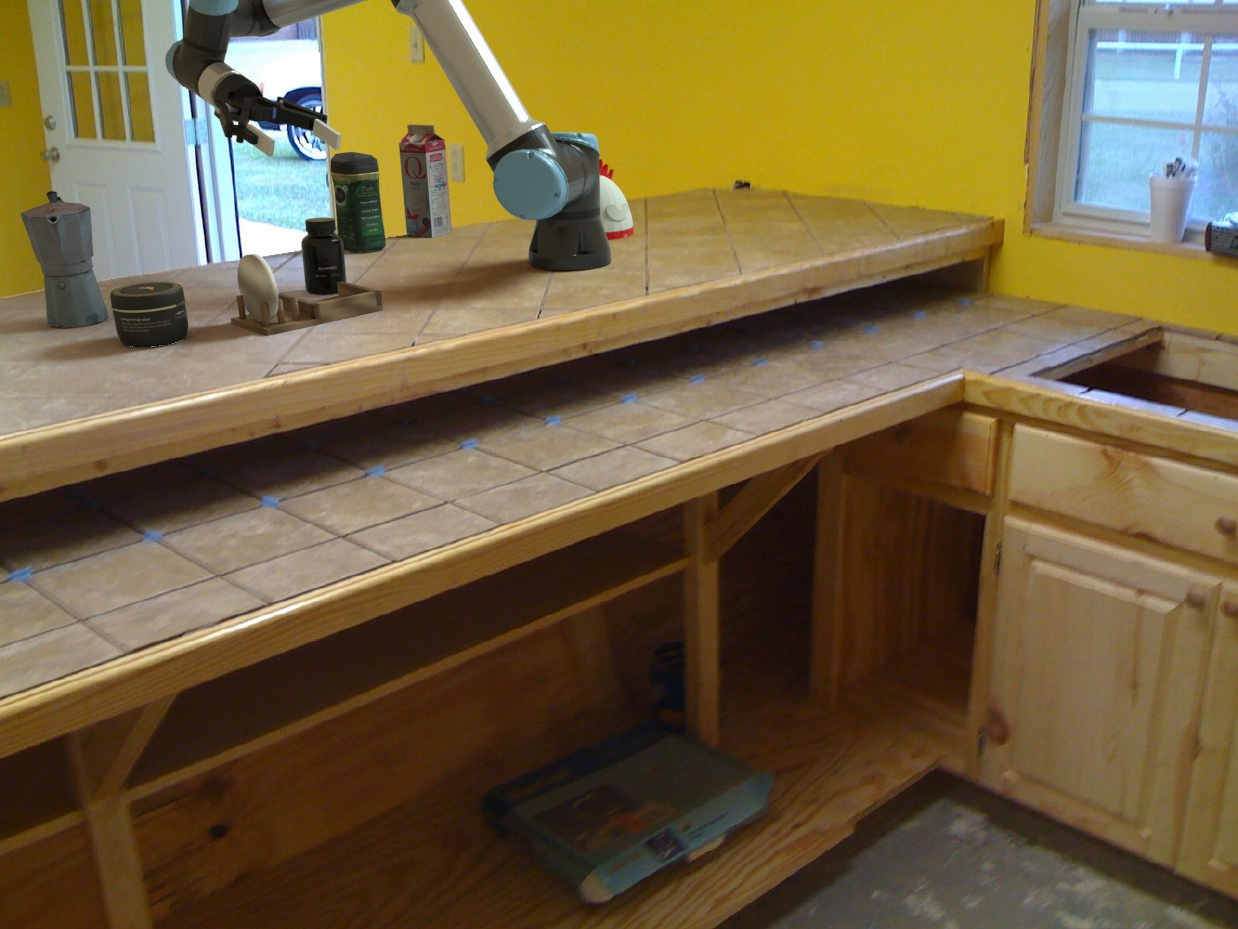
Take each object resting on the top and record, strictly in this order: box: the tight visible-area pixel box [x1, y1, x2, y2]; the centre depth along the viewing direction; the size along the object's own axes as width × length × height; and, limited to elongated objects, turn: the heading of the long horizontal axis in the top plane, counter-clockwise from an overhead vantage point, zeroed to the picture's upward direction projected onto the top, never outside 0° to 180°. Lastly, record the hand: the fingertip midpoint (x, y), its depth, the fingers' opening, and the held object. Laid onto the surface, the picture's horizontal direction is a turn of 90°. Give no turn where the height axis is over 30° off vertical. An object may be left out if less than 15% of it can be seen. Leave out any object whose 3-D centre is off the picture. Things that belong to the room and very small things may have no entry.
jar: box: [109, 281, 189, 348], centre depth 171 cm, size 10×10×8 cm
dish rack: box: [230, 253, 384, 336], centre depth 182 cm, size 20×11×11 cm, turn 135°
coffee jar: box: [330, 151, 387, 253], centre depth 231 cm, size 10×8×19 cm
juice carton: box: [398, 124, 453, 239], centre depth 244 cm, size 7×7×22 cm
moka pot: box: [20, 190, 109, 328], centre depth 181 cm, size 10×15×20 cm, turn 24°
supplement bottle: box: [300, 217, 348, 296], centre depth 198 cm, size 7×7×12 cm
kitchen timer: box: [599, 158, 634, 241], centre depth 241 cm, size 14×14×15 cm
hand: (306, 145), depth 198 cm, fingers open, 13 cm apart
